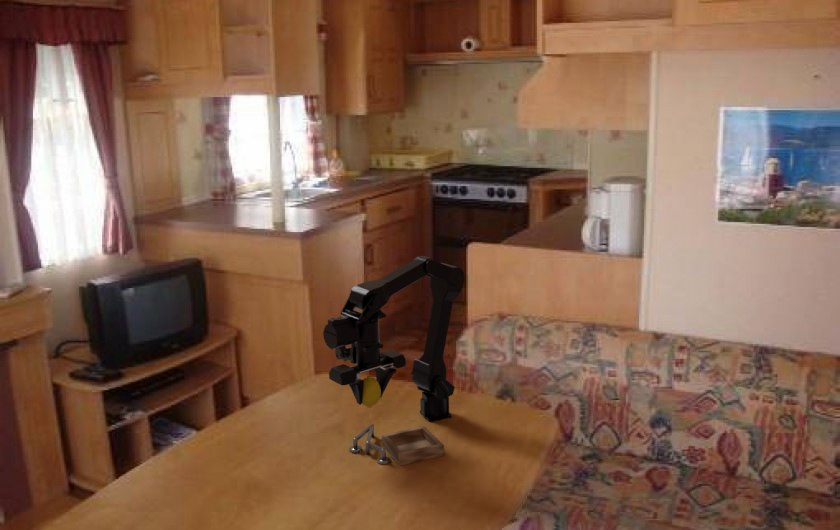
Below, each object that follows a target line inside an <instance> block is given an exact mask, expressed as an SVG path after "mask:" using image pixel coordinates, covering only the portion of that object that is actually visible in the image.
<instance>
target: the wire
mask: <svg viewBox="0 0 840 530" xmlns="http://www.w3.org/2000/svg"><path fill="white" fill-rule="evenodd" d="M366 434H367V438H366V440H365V454H366V455H367V456H369V455H371V449H374V450H376V451H377V452H380V453H381V456H379V457H378V458H377V459H376V460H377V462H376V463H378V464H380V465H388V464H390V463H391V461H392V460H391V457H390V456H387V450H386V449H385V448H384V447H383V446H379V445H377V444H375V443H372V442H371V439H372V438H374V437H375V424H373V423H370V424H369V425H368V426H367V427H366V428H364V429H363V430H362V431H361V432H360V433H357V435H355V437H353V438H352V444H353V445H351V446H350V447H349V448H348V452H350V453H351V452H352V453H353V454H357V453H361V452H362V451H363V447H362V446H360V445H359V444H358V443H359V442H358V441H359V440H360V439H362V437H364V436H365V435H366Z"/></svg>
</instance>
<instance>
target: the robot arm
mask: <svg viewBox="0 0 840 530" xmlns="http://www.w3.org/2000/svg"><path fill="white" fill-rule="evenodd" d="M465 274H466V273H465V272H464V270H463V269H462V268H461V267H459V266H455V265H451V264H447V263H444V262H439V261H438V260H435V259H433V258H432V257H429V256H424V255H419V256H416V257H415V258H414V259H413V260H411V261H410V262H408V263H406V264H404V265H403V266H401V267H399V268H397V269H395V270H394V271H392V272H390V273H388V274H387V275H385V276H383V277H382V278H378V279H376V280H374V279H373V280H369V281H365V282H362V283H359V284H358V283H357V284H356V285H354V286H352V288H350V292H349V295H348V298H347V299H346V301H345V304H344V305H343V307H342V309H341V311H340V315H341V316H338V317H331V318H328V319H327V324H325V326H324V328H323V331H322V335H323V340H324V342H325V344H326V346H327V347H328V348H329V349H331V350H335V358H336V360H339V361H340V360H343V362H344V363H345V362H348V361H349V362H350V363H351V364H353V365H354V364H355V365H354V366H351V367H350V366H348V365H346V364H344V363H343V364H339V365H336V366H332V367H331V368H330V369H329V371H328V377H329V378H328V379H329V380H331V381H333V382H335V383H336V384H338V385H340V386H347V385H348V386H349V387H350V390H351V391H352V393H353V394H352V395H353V396H354V399H355V400H356V403H357V404H358V405H363V404H362V398H363V386H364V381H363V379H362V378H361V374H363V373H366V372H370V371H372V370H374V373H375V376H376V378H375V379H376V380H377V381H378V383H379V385H380V388H381V397H380V399H381V398H382V397H383V395H384V393H385V391H386V389H387V387H388V384H389V383H390V381H391V379H392V377H393V376H394V374H396V373H397V371H398V369H401V368H404V367H406V365H407V357H405V355H404V354H403V353H400V352H398V351H396V350H395V349H394V350H393V349H390V350H386V351H383V352H381V349H383V348H384V343H383V342H380V341H381V340H380V319H385V318H386V317H387V316H388V315H387V314H386V313H385V312H384V311H382V308H384V307H385V306H386V305H387V304H388V302H389V300H390V299H391V297H392V296H394V295H395V294H397V293H399V292H400V291H402V290H404V289H405V288H407V287H409V286H410V285H412V284H414V283H416V282H418V281H420V280H421V279H423V278H424V277H428V278H430V282H429V283H430V285H429V286H430V290H431V293H432V297H433V300H432V307H431V313H430V318H429V322H428V328H427V329H428V330H427V334H426V339H425V345H424V351H423V354H422V355H421V356H420V358H419V359H417V358H415V359H414V360H413V364H412V366H413V367H412V371H411V372H410V375H412V379H411V380H412V381H413V383H414V385H415V386H416V387H417V390H418V391H421V398H420V403H419V404H420V409H419V413H420V415H422V416H423V417H424V418H425V419H426V420H427V421H429V422H433V421H439V420H443V419H447V418H452V417H453V414H452V413H450V397H451V396H453V395H454V392H455V389H456V387H455V386H454V384H452V383H451V382H450V381H448V380H447V366H446V364H445V363H446V362H445V360H444V353H445V348H446V342H447V338H448V332H449V327H450V320H451V317H452V310H453V304H454V301H455V300H456V299H457V298H458V297H459V295H460V294H461V293H462V290H463V287H464V285H465V284H464V283H465V281H466V280H465V279H466V275H465ZM354 309H356V310H354ZM357 310H359V311H362V312H359V311H357Z"/></svg>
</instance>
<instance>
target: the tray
mask: <svg viewBox="0 0 840 530" xmlns="http://www.w3.org/2000/svg"><path fill="white" fill-rule="evenodd" d="M381 444H382V445H381V446H382V448H385V449H386V452H388V454H389V455H390V456H391V457H392V458H393V460H394V461H396V463H397V464H398V465H399V466H404V465H409V464H412V463H413V464H414V463H418V462H422V461H425V460H430V459H434V458H439V457H442V456H445V445H444V443H443V442H441V441H440V440H439V438H437V436H436V435H434V434H433V433H432V432H431V430H429V429H428V428H427V427H426V426H425V425H423V426H422V425H421V426H418V427H414V428H409V429H405V430H404V429H403V430H400V431H399V430H398V431H394V432H389V433H385V434H382V435H381Z"/></svg>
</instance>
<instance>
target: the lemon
mask: <svg viewBox="0 0 840 530" xmlns="http://www.w3.org/2000/svg"><path fill="white" fill-rule="evenodd" d="M362 380H363V381H364V386H363V398H362V404H361V405H363V406H365V407H367V408H368V409H371V408H373V406H375V405H377V403H379V401H380V399H381V398H382V397H381V388H380V385H379V383H378V381H377V380H376V378H375V377H371V376H368V375H367V376H366V377H364V378H362ZM380 397H381V398H380Z"/></svg>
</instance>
